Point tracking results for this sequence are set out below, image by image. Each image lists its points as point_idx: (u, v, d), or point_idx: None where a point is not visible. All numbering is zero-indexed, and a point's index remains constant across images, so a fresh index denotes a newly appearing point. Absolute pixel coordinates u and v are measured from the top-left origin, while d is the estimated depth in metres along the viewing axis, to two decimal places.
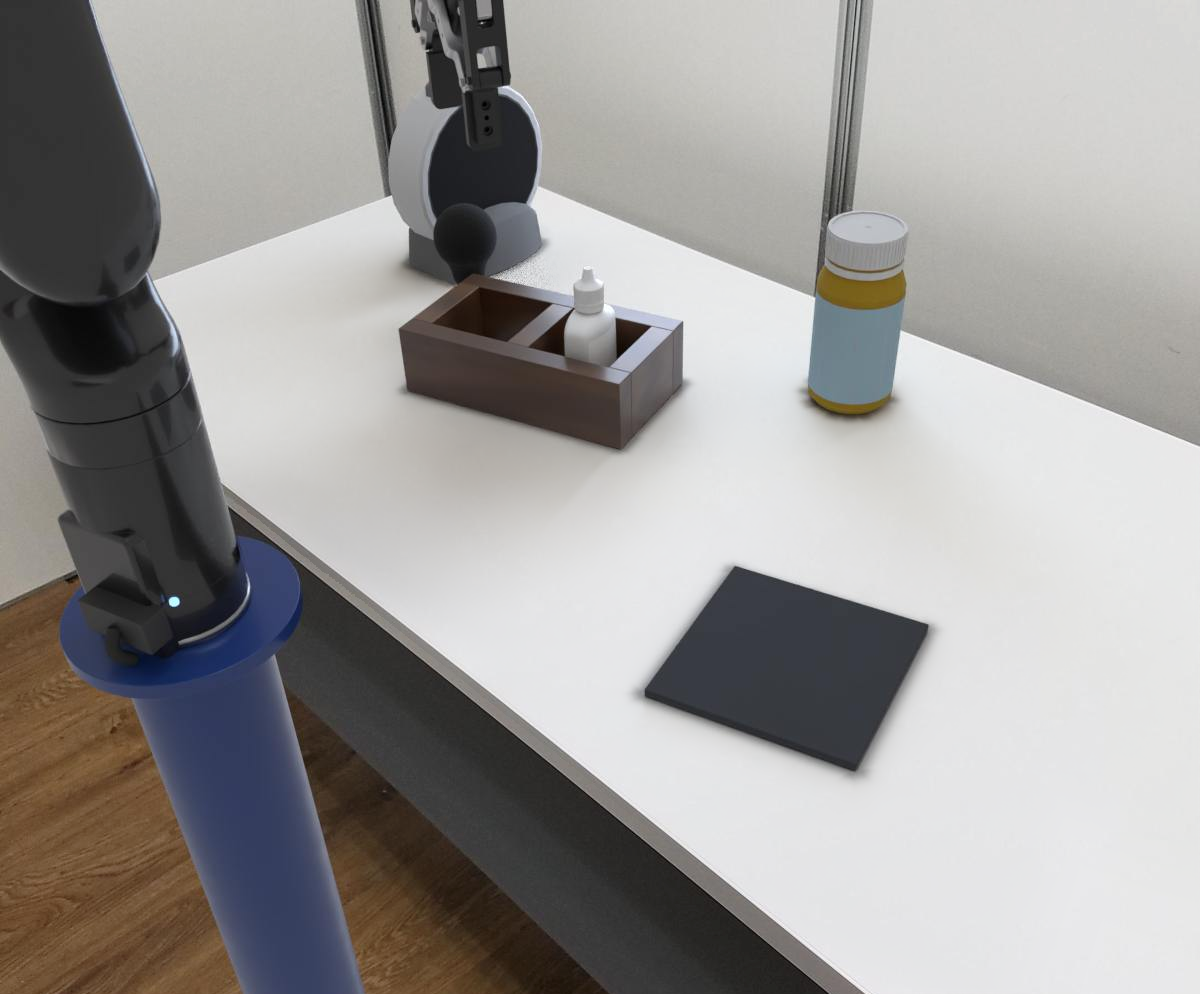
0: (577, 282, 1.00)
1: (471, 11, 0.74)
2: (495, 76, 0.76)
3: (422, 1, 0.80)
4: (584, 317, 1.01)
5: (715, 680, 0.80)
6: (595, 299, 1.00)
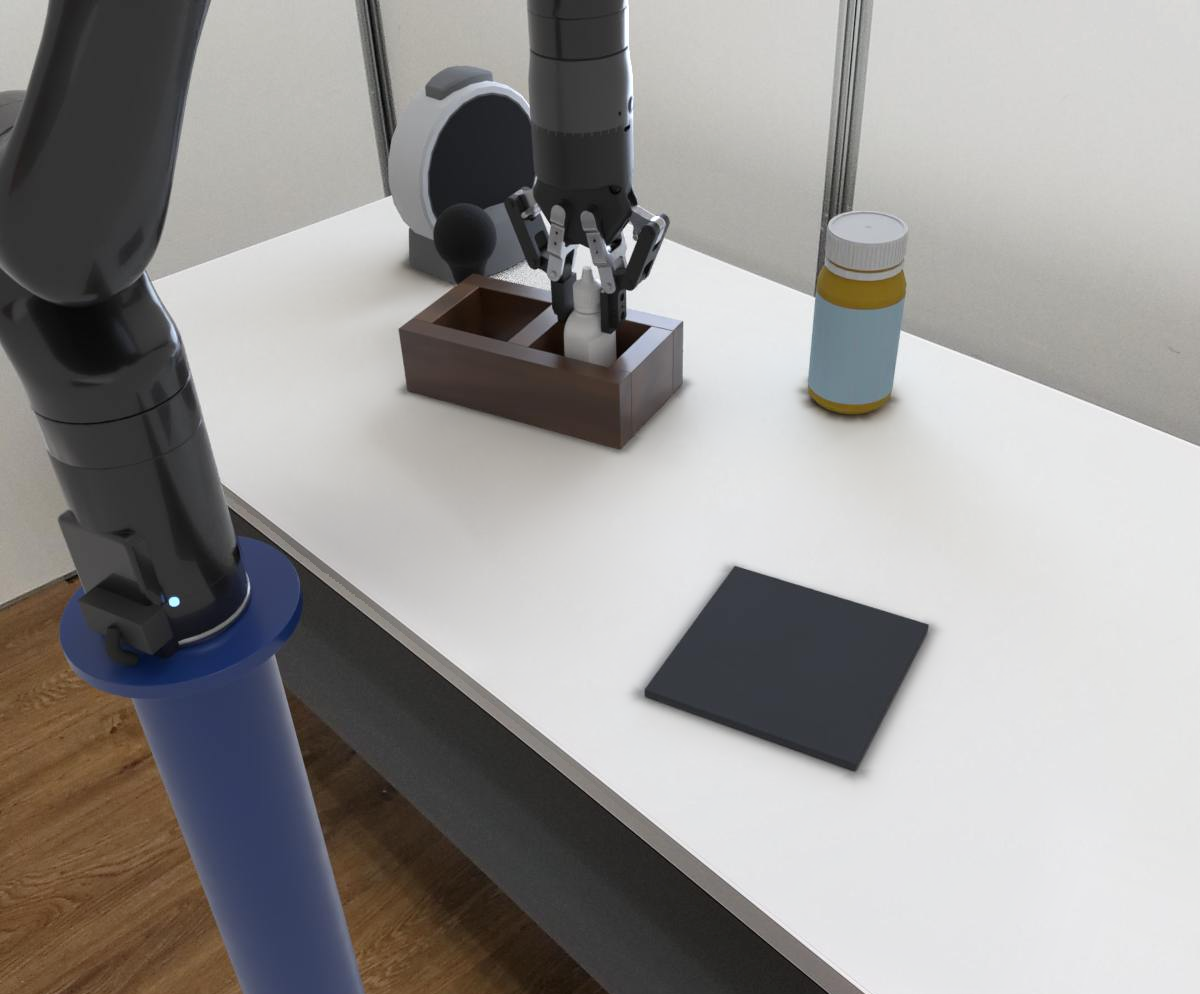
0: (576, 282, 1.01)
1: (654, 243, 0.94)
2: (643, 277, 0.98)
3: (564, 227, 0.96)
4: (583, 317, 1.01)
5: (715, 680, 0.80)
6: (595, 298, 1.00)
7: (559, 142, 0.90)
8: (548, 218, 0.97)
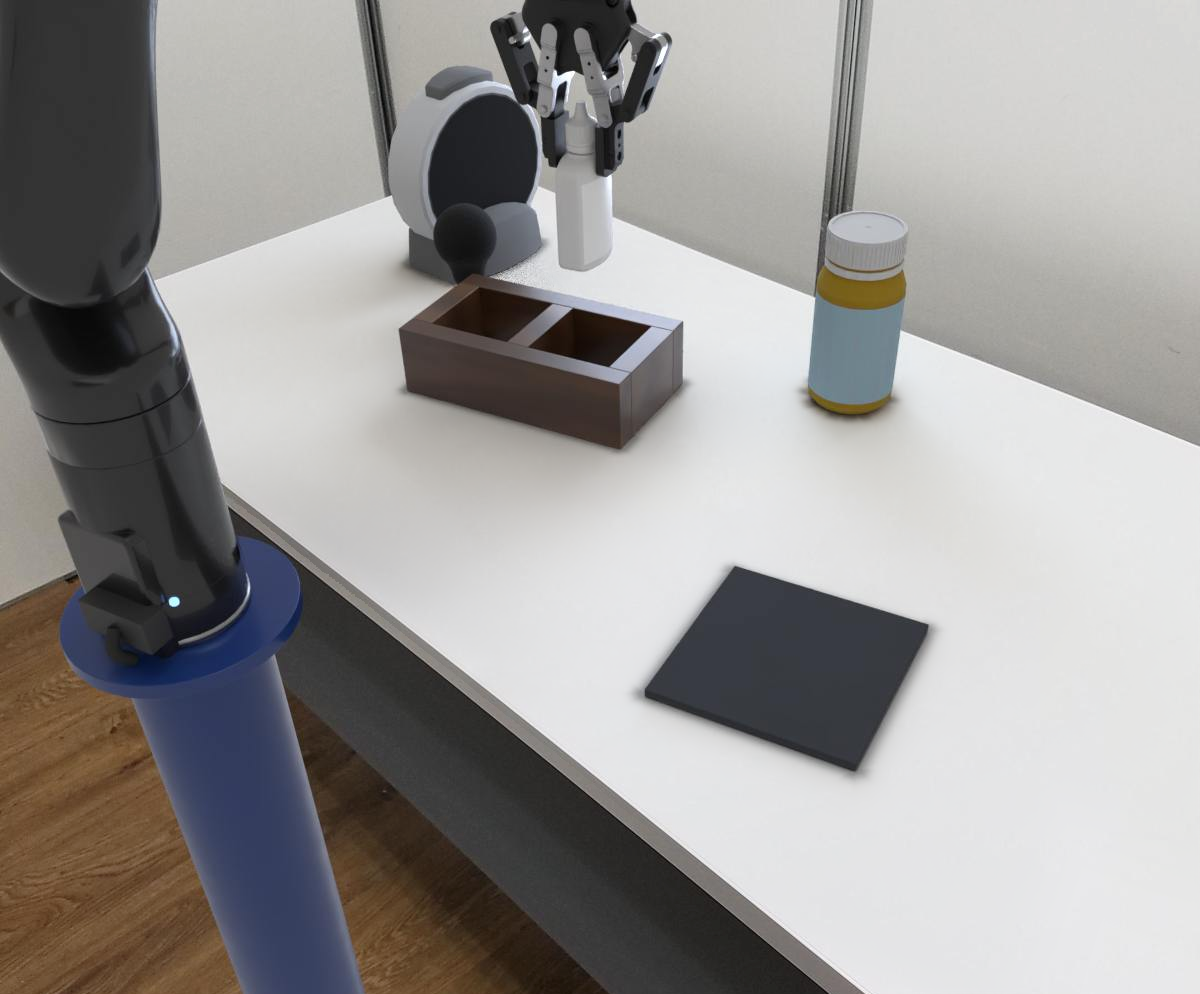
0: (569, 119, 0.92)
1: (654, 64, 0.86)
2: (642, 108, 0.89)
3: (556, 50, 0.88)
4: (576, 158, 0.92)
5: (715, 680, 0.80)
6: (589, 136, 0.91)
7: None
8: (538, 42, 0.89)
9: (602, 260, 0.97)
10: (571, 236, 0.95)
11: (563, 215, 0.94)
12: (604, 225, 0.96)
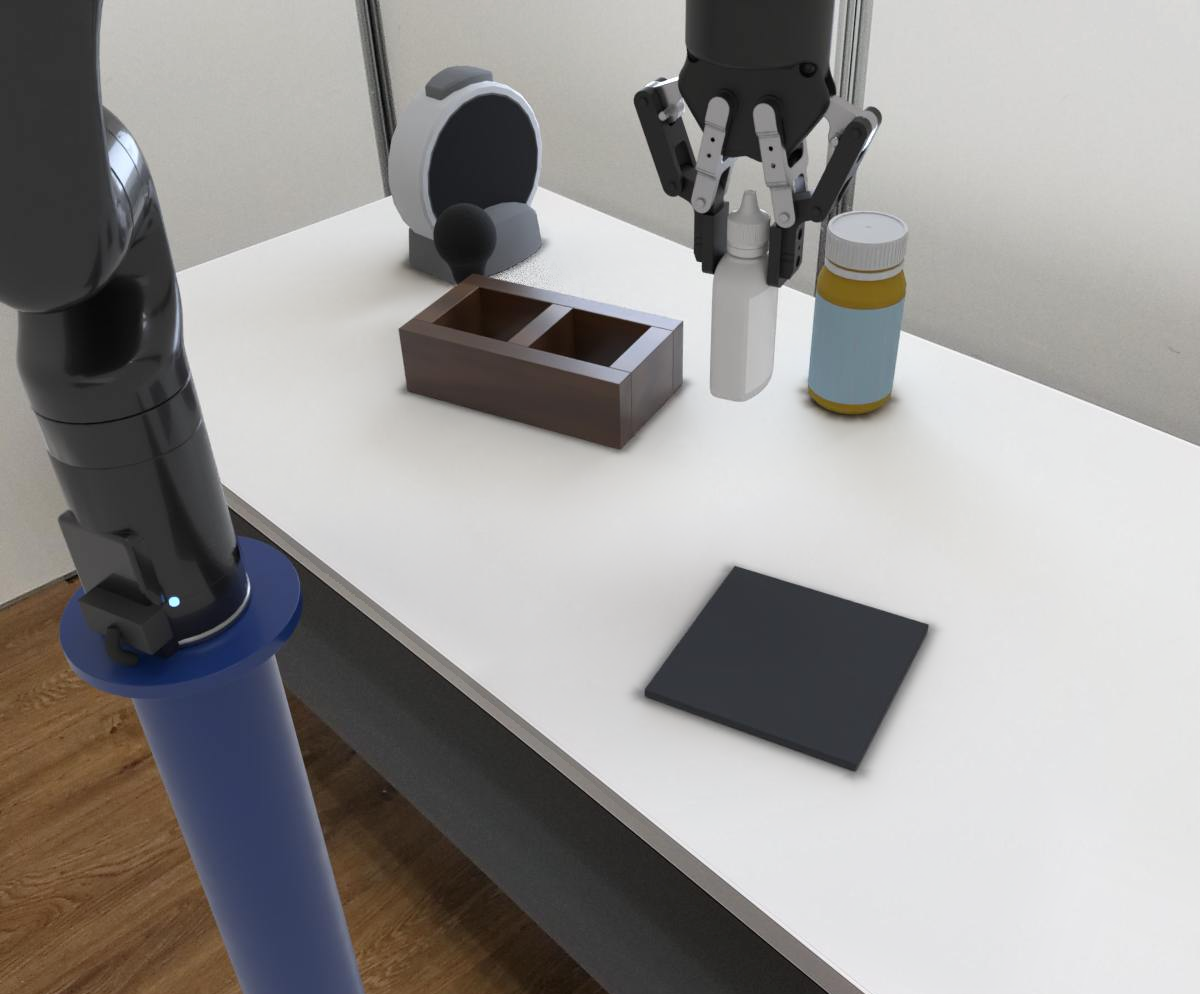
0: (733, 213, 0.71)
1: (861, 150, 0.65)
2: (834, 203, 0.68)
3: (726, 130, 0.67)
4: (742, 263, 0.72)
5: (715, 680, 0.80)
6: (760, 236, 0.71)
7: None
8: (699, 119, 0.68)
9: (764, 385, 0.77)
10: (731, 360, 0.74)
11: (722, 335, 0.73)
12: (769, 344, 0.75)
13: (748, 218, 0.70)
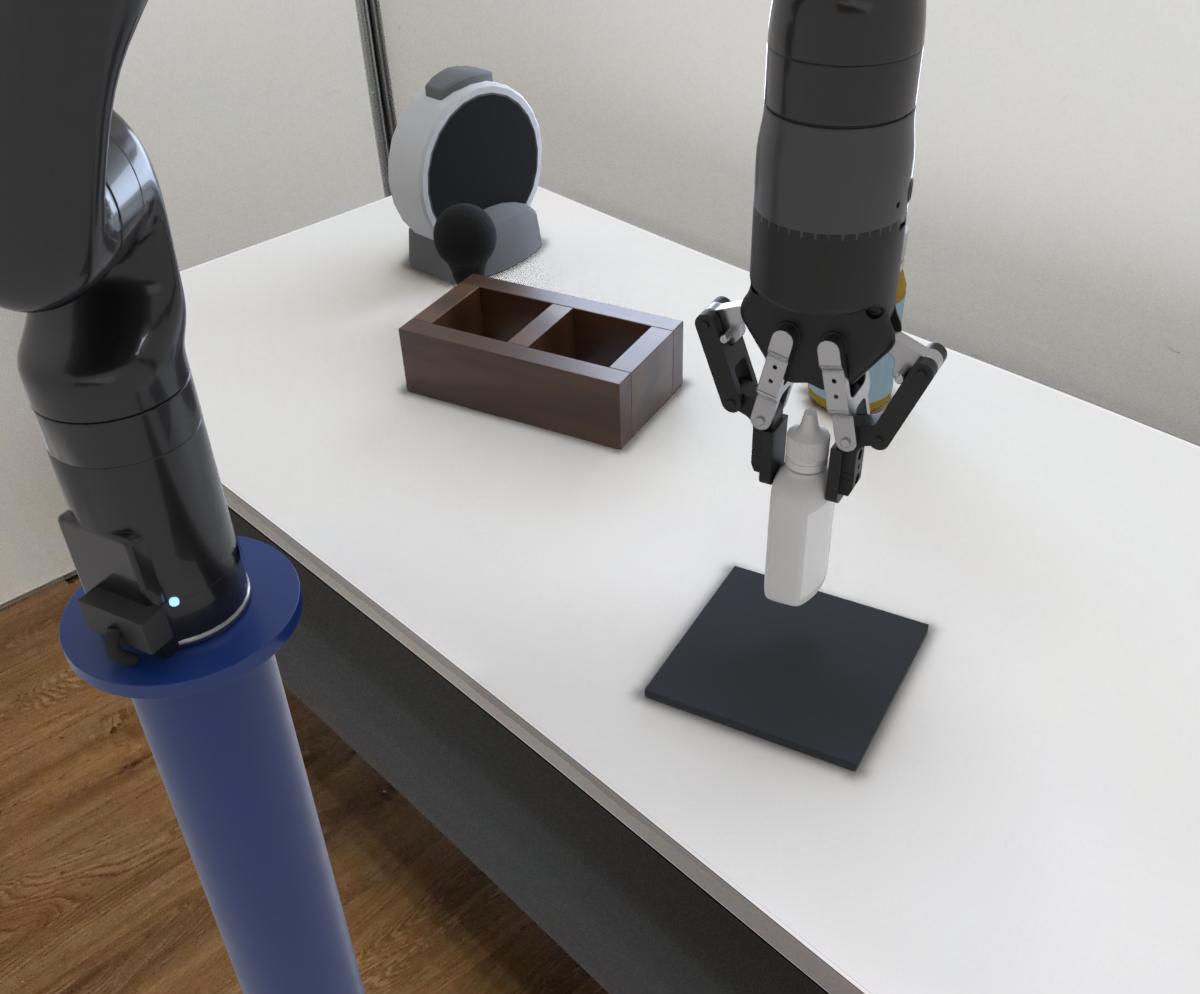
0: (793, 430, 0.70)
1: None
2: None
3: (788, 360, 0.66)
4: (801, 479, 0.71)
5: (715, 680, 0.80)
6: (820, 454, 0.70)
7: (805, 247, 0.60)
8: (761, 345, 0.67)
9: (819, 587, 0.76)
10: (787, 569, 0.73)
11: (779, 546, 0.73)
12: (825, 549, 0.75)
13: (808, 437, 0.70)
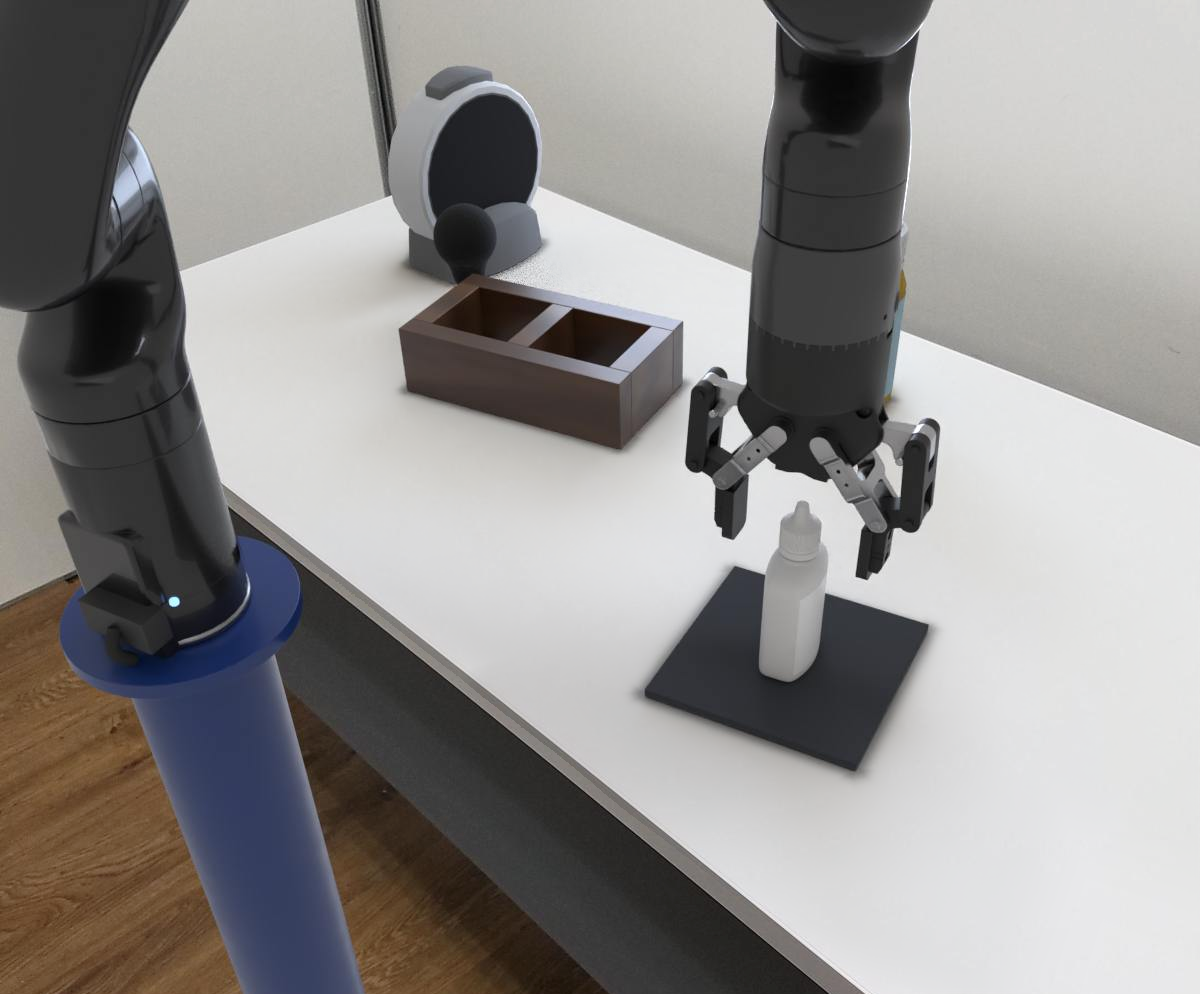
0: (786, 520, 0.75)
1: (927, 460, 0.67)
2: (926, 508, 0.70)
3: (773, 451, 0.70)
4: (793, 565, 0.75)
5: (715, 680, 0.80)
6: (812, 543, 0.74)
7: (798, 356, 0.63)
8: (757, 437, 0.71)
9: (811, 663, 0.80)
10: (780, 648, 0.77)
11: (773, 627, 0.77)
12: (817, 629, 0.79)
13: (800, 528, 0.74)
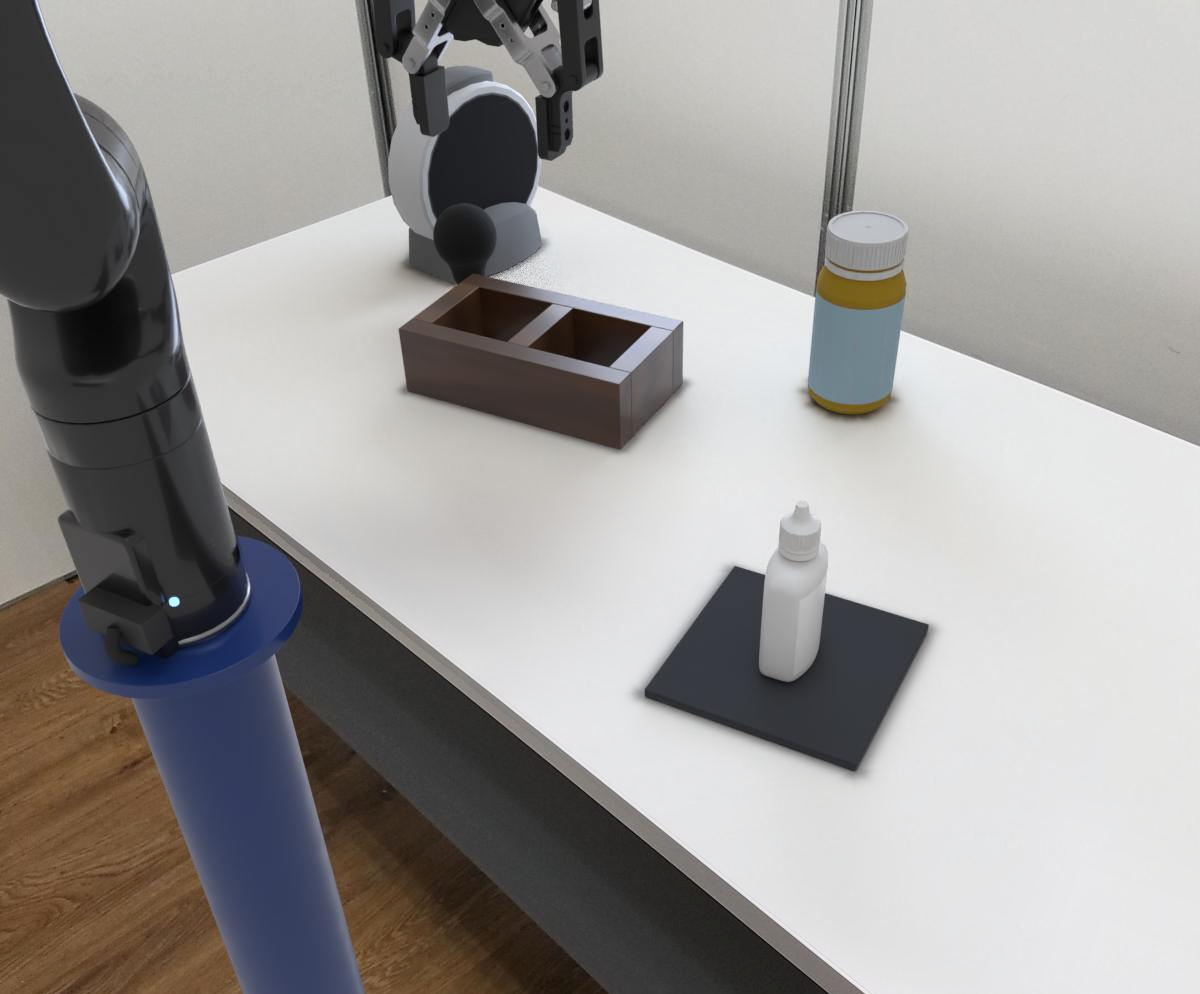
0: (786, 520, 0.75)
1: (580, 2, 0.68)
2: (593, 70, 0.71)
3: (445, 13, 0.71)
4: (793, 565, 0.75)
5: (715, 680, 0.80)
6: (811, 543, 0.74)
7: None
8: None
9: (811, 663, 0.80)
10: (780, 648, 0.77)
11: (773, 627, 0.77)
12: (817, 628, 0.79)
13: (800, 528, 0.74)
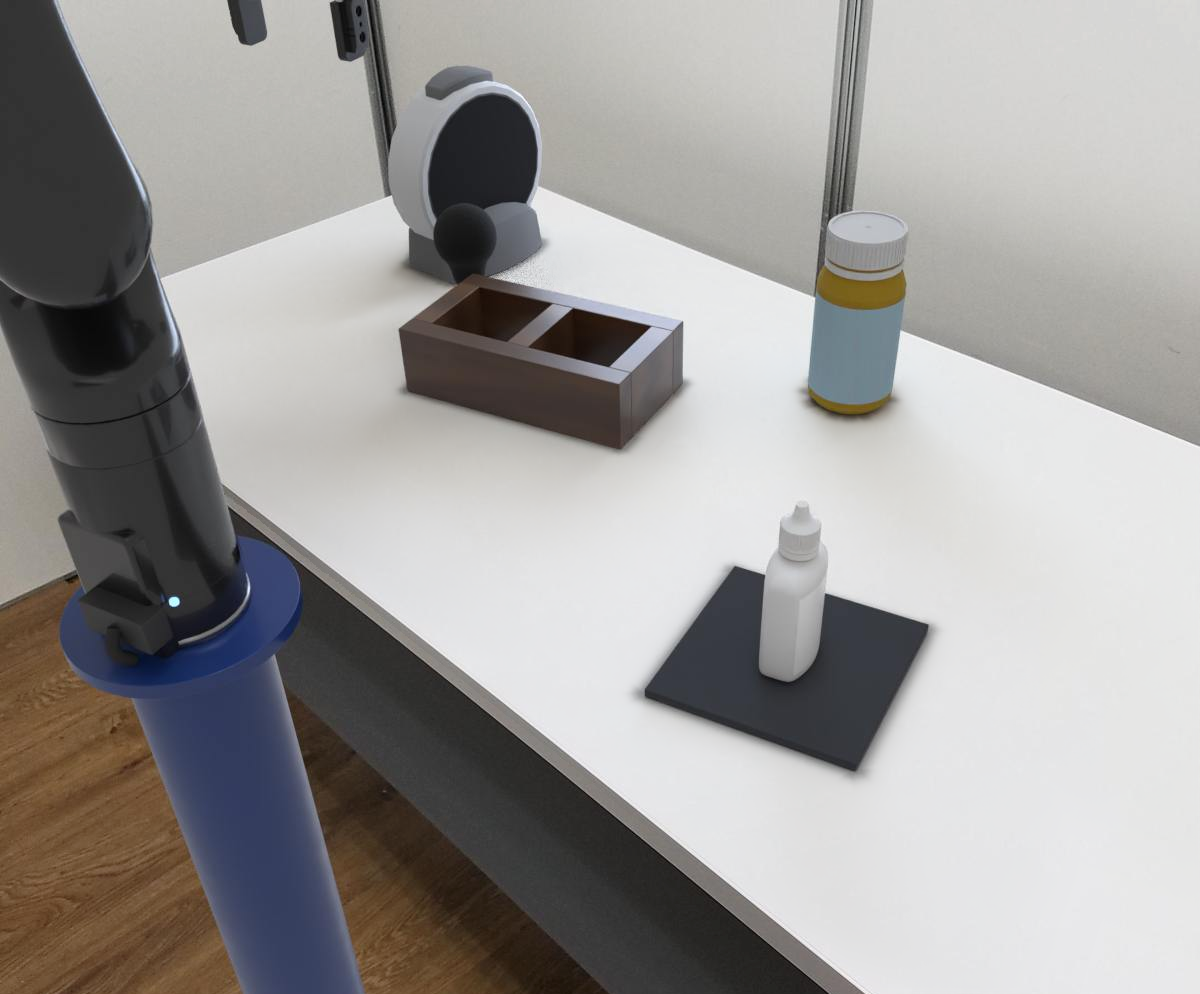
0: (786, 520, 0.75)
1: None
2: None
3: None
4: (793, 565, 0.75)
5: (715, 680, 0.80)
6: (811, 543, 0.74)
7: None
8: None
9: (811, 663, 0.80)
10: (780, 648, 0.77)
11: (773, 627, 0.77)
12: (817, 628, 0.79)
13: (800, 528, 0.74)
